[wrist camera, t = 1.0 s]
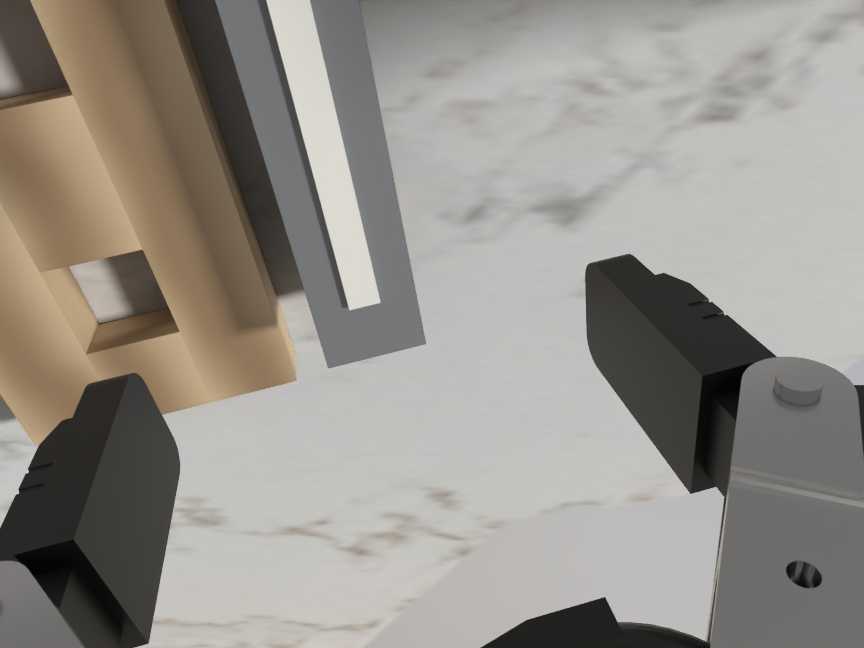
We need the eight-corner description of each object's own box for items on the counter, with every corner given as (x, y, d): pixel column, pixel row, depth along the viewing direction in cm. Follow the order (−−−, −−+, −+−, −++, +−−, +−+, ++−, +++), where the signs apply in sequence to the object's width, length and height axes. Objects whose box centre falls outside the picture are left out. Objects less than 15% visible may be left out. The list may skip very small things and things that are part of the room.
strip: (316, -125, 22) (331, -145, 17) (399, 272, 31) (427, 347, 25) (202, -105, 22) (177, -119, 16) (318, 291, 31) (328, 372, 25)
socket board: (106, -207, 20) (86, -223, 18) (294, 351, 32) (296, 380, 30) (-302, -141, 19) (-373, -150, 17) (52, 411, 31) (35, 446, 29)
